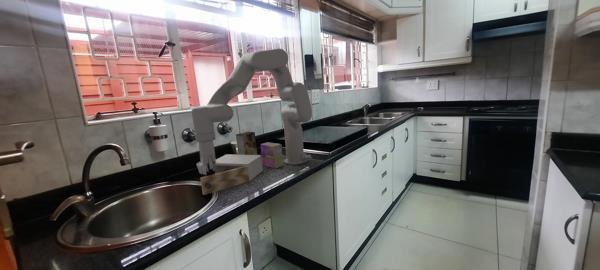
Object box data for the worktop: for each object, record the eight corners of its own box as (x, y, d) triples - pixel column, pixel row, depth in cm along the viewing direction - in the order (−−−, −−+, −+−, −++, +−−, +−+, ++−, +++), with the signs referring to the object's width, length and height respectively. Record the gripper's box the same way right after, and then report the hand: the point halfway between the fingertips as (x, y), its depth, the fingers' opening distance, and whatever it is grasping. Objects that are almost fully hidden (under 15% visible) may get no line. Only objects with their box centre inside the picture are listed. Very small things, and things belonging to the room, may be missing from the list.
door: (248, 180, 114) (246, 165, 112) (251, 182, 111) (249, 167, 110) (202, 194, 102) (200, 177, 101) (204, 196, 100) (202, 179, 98)
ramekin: (201, 169, 136) (200, 159, 135) (222, 167, 137) (221, 158, 136) (194, 176, 125) (193, 166, 124) (217, 174, 126) (216, 164, 125)
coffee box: (250, 157, 153) (247, 131, 150) (258, 158, 149) (255, 131, 146) (238, 161, 146) (235, 134, 142) (246, 163, 142) (242, 135, 139)
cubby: (262, 170, 127) (261, 155, 126) (249, 181, 114) (247, 164, 113) (228, 169, 133) (226, 154, 132) (211, 178, 120) (209, 162, 119)
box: (262, 165, 136) (260, 144, 133) (270, 162, 140) (268, 141, 137) (275, 169, 129) (273, 146, 126) (283, 165, 133) (281, 144, 130)
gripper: (193, 135, 107) (199, 176, 111) (197, 141, 94) (204, 187, 98) (212, 132, 110) (217, 172, 114) (218, 138, 97) (224, 183, 101)
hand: (211, 179), depth 106 cm, fingers closed
